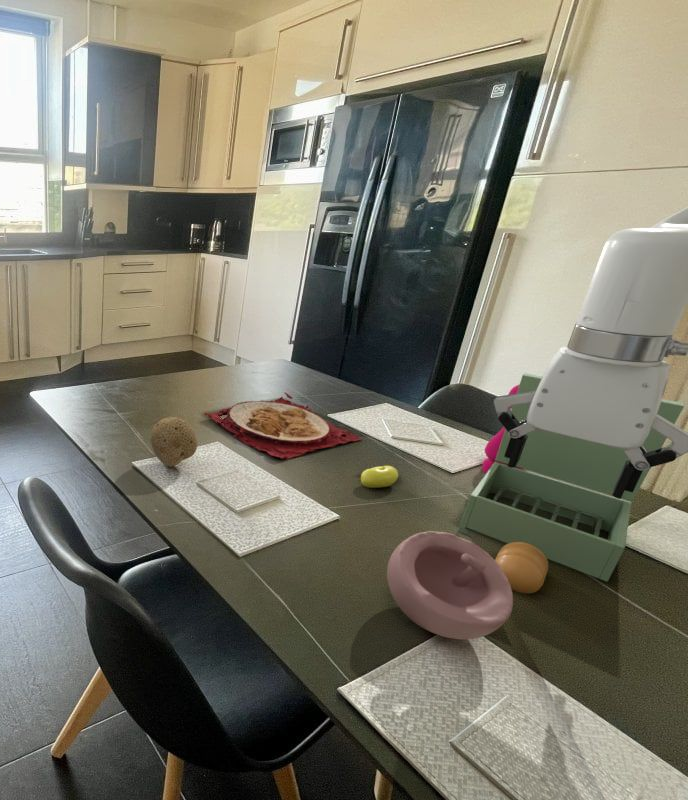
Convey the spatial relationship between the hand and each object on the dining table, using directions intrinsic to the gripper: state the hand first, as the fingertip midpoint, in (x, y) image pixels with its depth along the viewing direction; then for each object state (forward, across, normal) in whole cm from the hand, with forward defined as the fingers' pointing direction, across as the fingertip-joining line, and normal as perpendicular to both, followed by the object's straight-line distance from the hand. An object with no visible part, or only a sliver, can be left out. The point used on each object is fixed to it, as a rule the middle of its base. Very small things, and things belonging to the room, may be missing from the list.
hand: (562, 478), depth 60 cm
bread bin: (+17, +1, -15) cm, 23 cm away
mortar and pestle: (+16, +6, +17) cm, 24 cm away
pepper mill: (+17, +8, -36) cm, 41 cm away
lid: (+1, 0, -21) cm, 21 cm away
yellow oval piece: (+16, +22, -12) cm, 31 cm away
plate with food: (+16, +47, -22) cm, 54 cm away
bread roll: (+16, +1, +1) cm, 16 cm away
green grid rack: (+17, +1, -15) cm, 23 cm away
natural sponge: (+16, +52, +11) cm, 56 cm away
